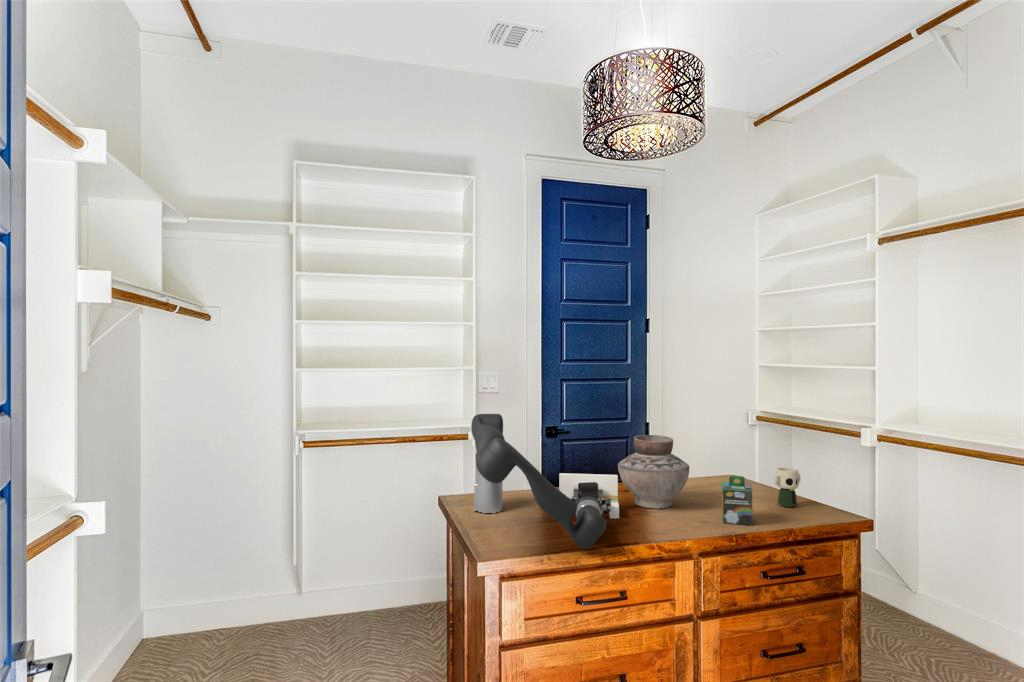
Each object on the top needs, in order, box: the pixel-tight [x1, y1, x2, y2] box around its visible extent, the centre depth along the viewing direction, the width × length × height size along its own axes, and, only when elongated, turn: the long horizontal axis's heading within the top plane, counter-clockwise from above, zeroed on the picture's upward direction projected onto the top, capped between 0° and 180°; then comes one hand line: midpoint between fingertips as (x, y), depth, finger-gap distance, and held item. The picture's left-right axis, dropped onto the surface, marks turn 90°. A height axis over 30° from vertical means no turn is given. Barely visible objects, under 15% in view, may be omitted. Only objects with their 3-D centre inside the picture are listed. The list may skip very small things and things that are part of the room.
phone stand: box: [577, 482, 599, 499], centre depth 194 cm, size 9×6×12 cm, turn 10°
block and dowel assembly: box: [574, 487, 619, 514], centre depth 202 cm, size 15×3×8 cm, turn 83°
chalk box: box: [721, 475, 754, 526], centre depth 193 cm, size 9×9×15 cm
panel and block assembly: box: [558, 472, 620, 519], centre depth 201 cm, size 20×11×12 cm, turn 83°
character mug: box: [773, 466, 801, 508], centre depth 210 cm, size 11×7×13 cm, turn 107°
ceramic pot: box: [617, 434, 690, 510], centre depth 212 cm, size 25×25×24 cm
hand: (588, 498), depth 196 cm, fingers open, 8 cm apart
